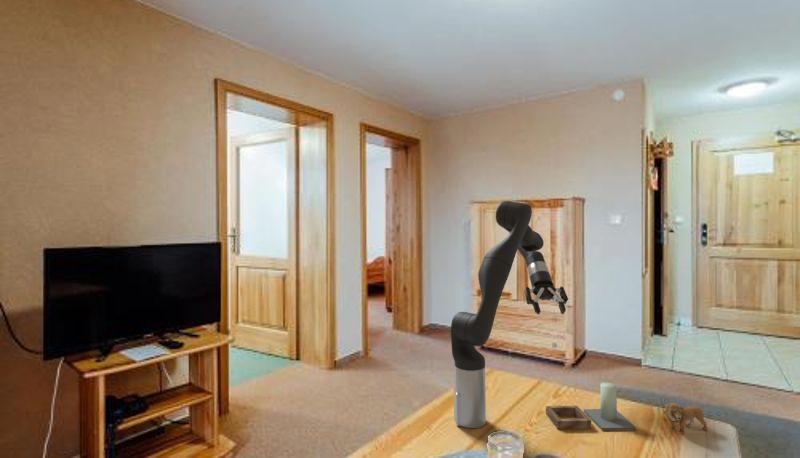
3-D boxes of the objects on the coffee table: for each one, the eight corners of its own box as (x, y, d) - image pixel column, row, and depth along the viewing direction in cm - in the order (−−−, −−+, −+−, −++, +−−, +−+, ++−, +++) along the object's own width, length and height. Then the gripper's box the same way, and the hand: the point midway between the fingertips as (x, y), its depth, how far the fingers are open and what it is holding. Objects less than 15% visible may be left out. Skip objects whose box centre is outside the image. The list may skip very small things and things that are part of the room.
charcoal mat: (602, 430, 120) (602, 428, 120) (583, 411, 132) (583, 409, 132) (636, 430, 120) (636, 427, 120) (614, 411, 132) (614, 408, 132)
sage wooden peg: (605, 421, 124) (604, 388, 124) (597, 414, 128) (597, 382, 128) (619, 421, 124) (619, 387, 124) (612, 414, 128) (611, 382, 128)
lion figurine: (678, 440, 114) (678, 408, 114) (659, 431, 119) (659, 400, 119) (712, 429, 120) (712, 398, 120) (693, 421, 125) (693, 391, 125)
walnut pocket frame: (558, 429, 121) (557, 421, 121) (545, 413, 131) (545, 406, 131) (591, 428, 121) (591, 420, 121) (576, 413, 131) (576, 405, 131)
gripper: (522, 270, 154) (533, 307, 142) (561, 269, 154) (574, 306, 143) (518, 282, 159) (528, 319, 148) (555, 281, 159) (568, 318, 148)
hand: (551, 313), depth 145 cm, fingers open, 8 cm apart
